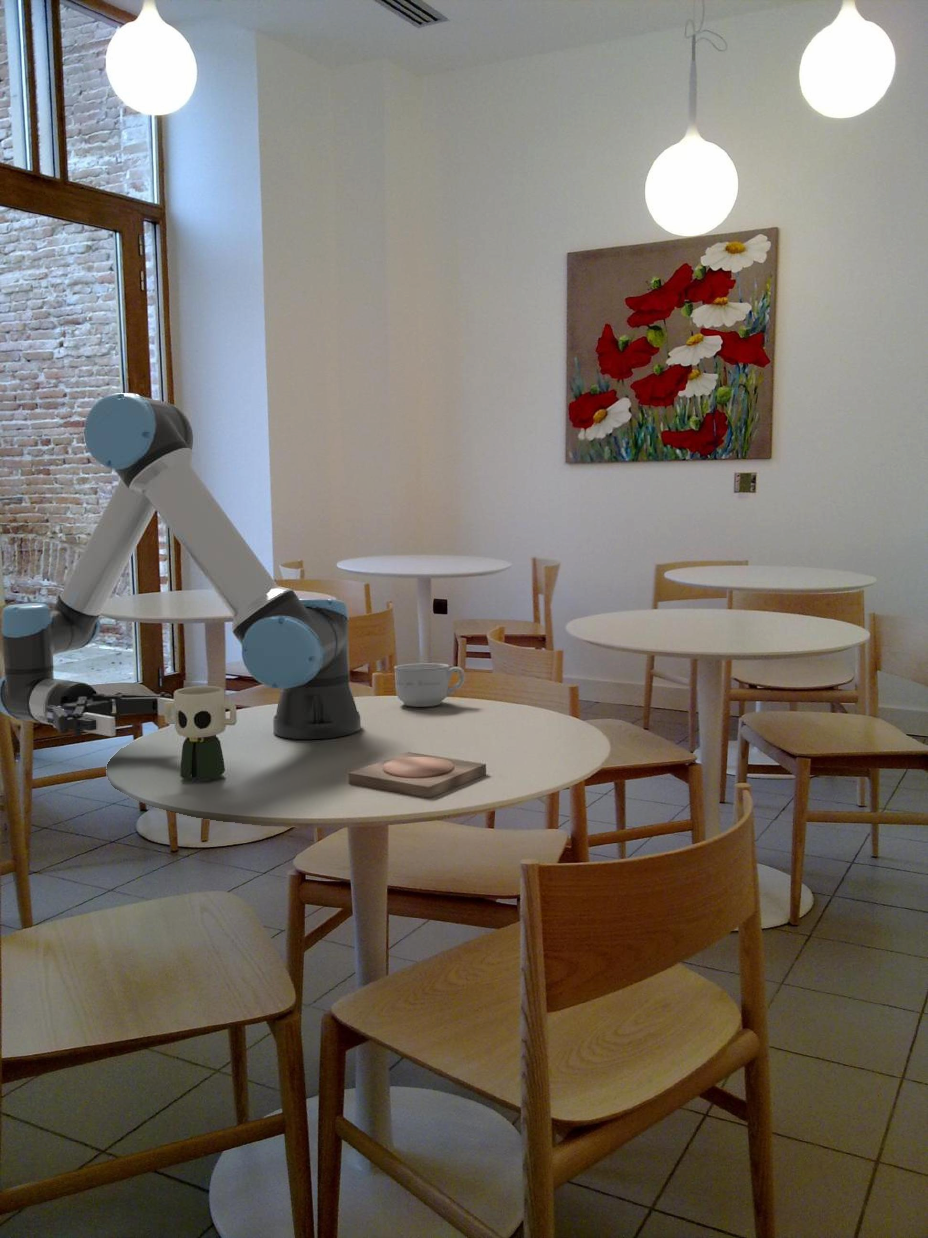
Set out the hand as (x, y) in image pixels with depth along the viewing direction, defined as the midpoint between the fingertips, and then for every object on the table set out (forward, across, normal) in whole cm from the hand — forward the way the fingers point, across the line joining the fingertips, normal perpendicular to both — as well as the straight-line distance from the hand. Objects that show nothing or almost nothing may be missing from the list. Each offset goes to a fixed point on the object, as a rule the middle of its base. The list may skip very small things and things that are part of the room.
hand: (151, 718), depth 151 cm
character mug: (+11, 0, -8) cm, 13 cm away
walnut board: (+38, -16, -7) cm, 42 cm away
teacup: (+8, -60, -8) cm, 61 cm away
